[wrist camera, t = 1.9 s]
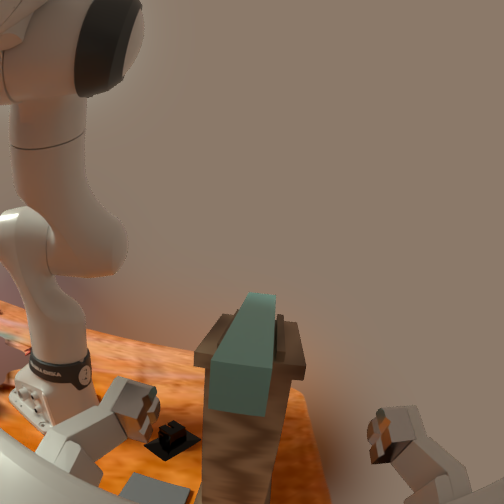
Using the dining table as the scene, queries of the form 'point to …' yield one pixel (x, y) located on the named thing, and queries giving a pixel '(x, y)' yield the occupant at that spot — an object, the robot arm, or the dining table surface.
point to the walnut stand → (246, 423)
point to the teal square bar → (245, 359)
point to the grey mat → (153, 491)
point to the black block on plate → (171, 441)
